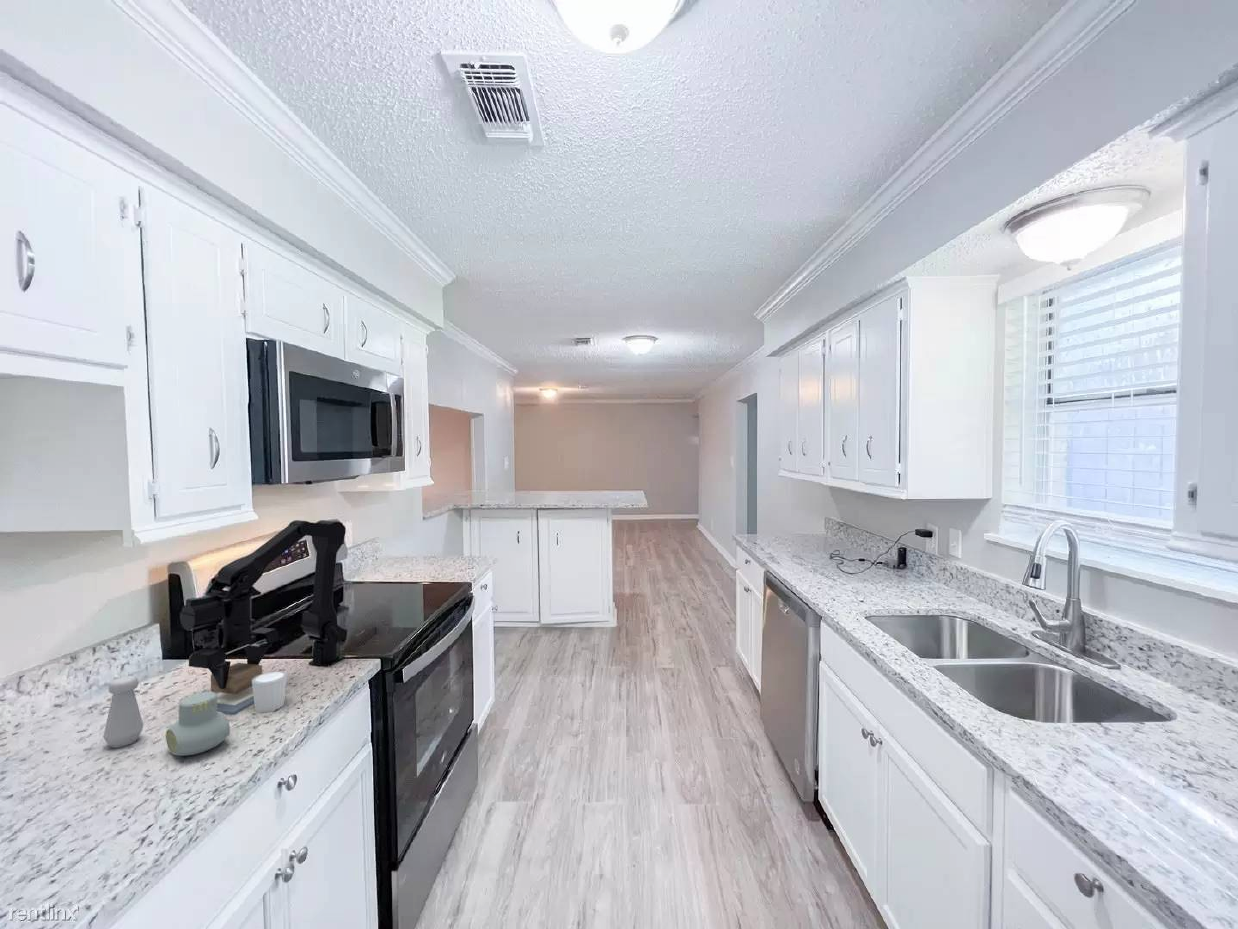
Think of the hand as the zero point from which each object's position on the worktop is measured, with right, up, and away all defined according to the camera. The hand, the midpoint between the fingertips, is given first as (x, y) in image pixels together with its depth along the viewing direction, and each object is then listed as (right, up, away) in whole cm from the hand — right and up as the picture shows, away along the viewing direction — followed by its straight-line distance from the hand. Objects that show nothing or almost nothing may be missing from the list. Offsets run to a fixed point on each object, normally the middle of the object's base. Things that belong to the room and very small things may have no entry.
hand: (236, 682), depth 124 cm
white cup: (+11, -4, -4) cm, 12 cm away
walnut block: (0, -1, 0) cm, 1 cm away
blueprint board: (0, -4, 0) cm, 4 cm away
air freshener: (+8, -4, -21) cm, 23 cm away
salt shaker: (-8, -4, -20) cm, 22 cm away
